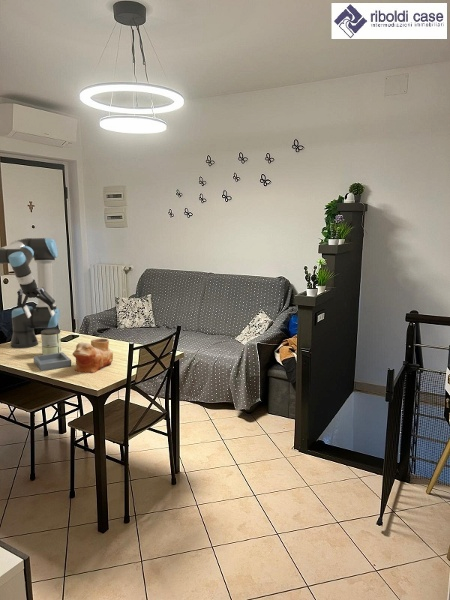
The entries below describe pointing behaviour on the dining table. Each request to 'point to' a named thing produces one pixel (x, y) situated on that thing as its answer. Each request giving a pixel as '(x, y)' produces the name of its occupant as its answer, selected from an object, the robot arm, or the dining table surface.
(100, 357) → the ceramic vessel
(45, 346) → the coffee can
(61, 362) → the tray
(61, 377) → the dining table surface
